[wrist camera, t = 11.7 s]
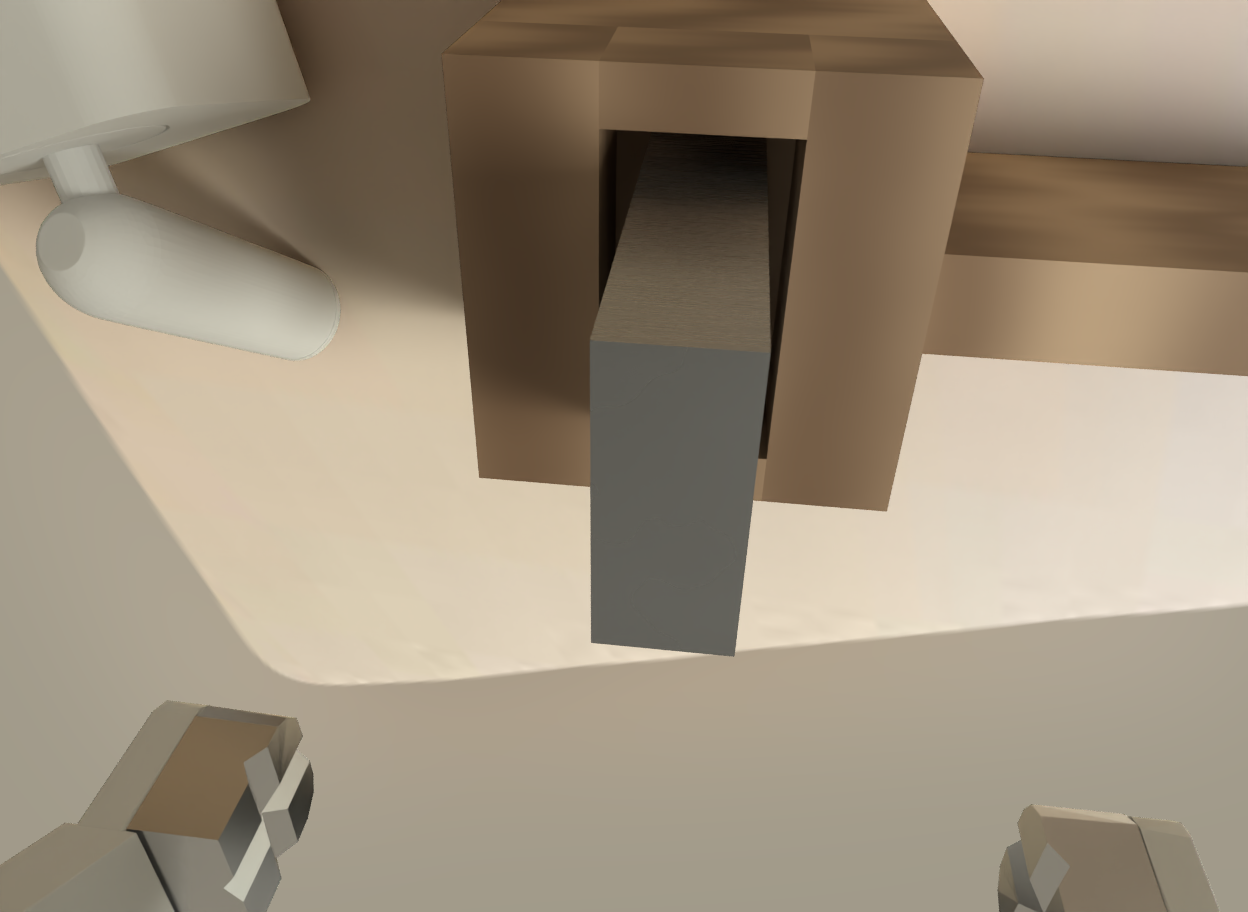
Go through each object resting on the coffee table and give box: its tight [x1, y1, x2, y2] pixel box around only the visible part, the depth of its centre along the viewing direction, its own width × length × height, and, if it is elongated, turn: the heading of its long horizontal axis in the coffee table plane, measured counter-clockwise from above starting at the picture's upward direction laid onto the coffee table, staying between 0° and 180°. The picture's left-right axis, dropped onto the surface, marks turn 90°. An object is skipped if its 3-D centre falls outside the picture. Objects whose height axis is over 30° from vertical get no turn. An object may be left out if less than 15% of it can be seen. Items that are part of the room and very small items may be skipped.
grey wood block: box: [590, 132, 771, 656], centre depth 19 cm, size 2×6×10 cm, turn 179°
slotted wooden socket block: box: [442, 0, 1248, 511], centre depth 23 cm, size 24×10×8 cm, turn 89°
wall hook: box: [0, 0, 340, 361], centre depth 25 cm, size 8×10×10 cm
